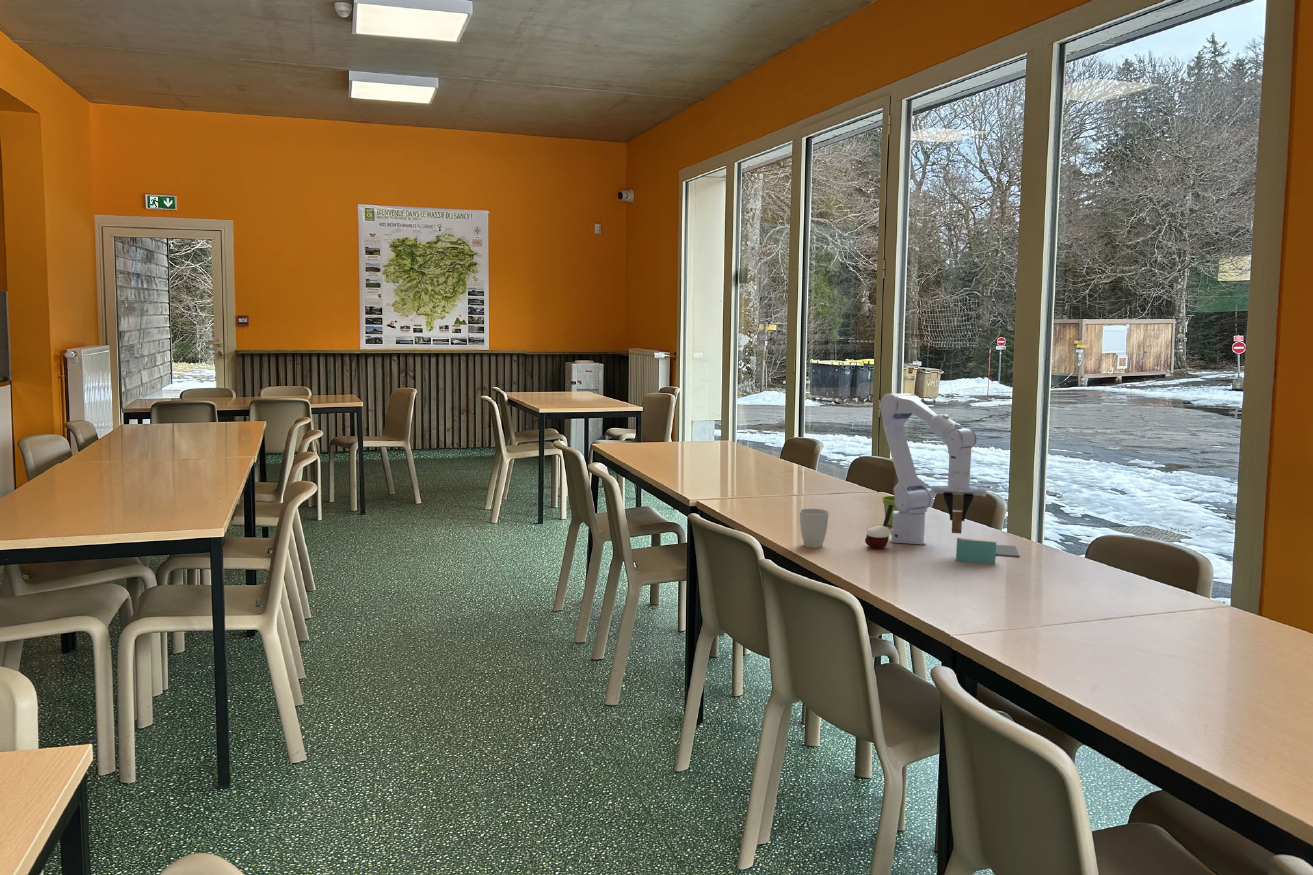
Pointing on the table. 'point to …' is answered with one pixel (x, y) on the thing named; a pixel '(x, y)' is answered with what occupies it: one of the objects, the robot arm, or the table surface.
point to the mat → (1006, 551)
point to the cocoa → (879, 533)
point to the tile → (976, 550)
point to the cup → (813, 526)
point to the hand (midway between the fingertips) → (957, 520)
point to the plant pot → (886, 502)
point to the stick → (957, 521)
